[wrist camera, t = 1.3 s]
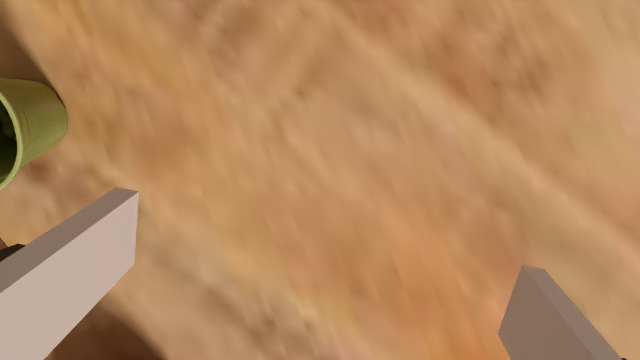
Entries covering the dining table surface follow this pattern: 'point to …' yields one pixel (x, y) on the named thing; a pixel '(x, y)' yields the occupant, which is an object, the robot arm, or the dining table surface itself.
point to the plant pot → (27, 124)
